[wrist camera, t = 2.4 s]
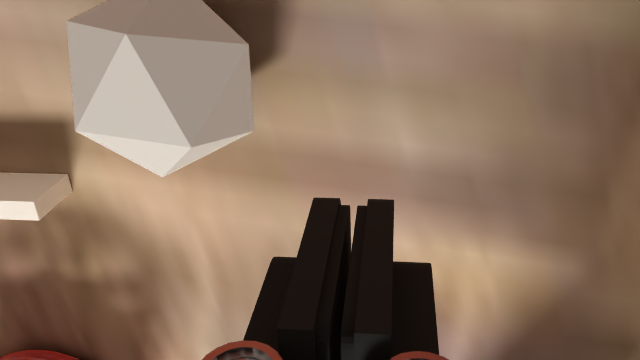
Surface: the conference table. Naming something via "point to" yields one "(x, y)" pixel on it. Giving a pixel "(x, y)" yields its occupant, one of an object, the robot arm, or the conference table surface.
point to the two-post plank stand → (31, 194)
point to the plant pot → (37, 355)
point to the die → (159, 81)
